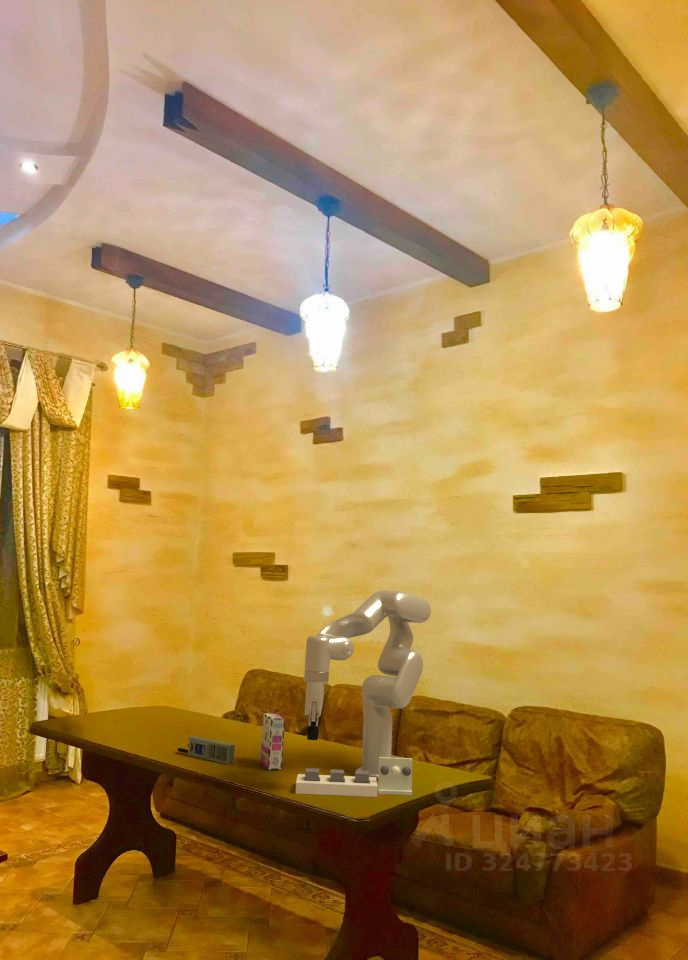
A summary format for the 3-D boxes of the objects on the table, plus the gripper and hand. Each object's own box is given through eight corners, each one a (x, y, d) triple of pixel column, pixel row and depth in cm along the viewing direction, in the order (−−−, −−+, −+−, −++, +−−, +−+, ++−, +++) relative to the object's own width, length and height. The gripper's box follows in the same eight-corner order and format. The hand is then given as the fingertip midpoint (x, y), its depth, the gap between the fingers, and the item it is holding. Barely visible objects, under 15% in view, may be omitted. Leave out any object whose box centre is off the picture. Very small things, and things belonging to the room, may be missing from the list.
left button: (318, 780, 217) (319, 768, 218) (318, 783, 213) (318, 772, 214) (305, 779, 217) (306, 768, 218) (304, 783, 213) (305, 771, 214)
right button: (368, 782, 217) (368, 770, 218) (368, 785, 213) (369, 774, 214) (354, 781, 217) (355, 770, 218) (355, 785, 213) (355, 773, 214)
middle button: (343, 781, 217) (343, 769, 218) (343, 784, 213) (343, 773, 214) (330, 780, 217) (330, 769, 218) (330, 784, 213) (330, 772, 214)
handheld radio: (228, 766, 240) (174, 753, 253) (234, 764, 242) (181, 752, 256) (230, 745, 241) (176, 734, 254) (236, 743, 244) (183, 733, 257)
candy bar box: (282, 770, 236) (285, 718, 239) (268, 770, 235) (271, 718, 237) (274, 762, 247) (276, 712, 249) (259, 762, 245) (262, 712, 247)
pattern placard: (410, 791, 217) (411, 757, 218) (412, 795, 213) (412, 760, 215) (377, 790, 217) (378, 756, 218) (378, 793, 213) (379, 758, 215)
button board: (375, 787, 220) (375, 777, 220) (377, 796, 210) (377, 786, 210) (297, 784, 220) (298, 774, 220) (295, 793, 210) (296, 782, 210)
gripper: (305, 673, 227) (301, 734, 224) (302, 679, 212) (298, 743, 209) (328, 675, 227) (325, 735, 224) (328, 680, 212) (324, 745, 209)
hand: (312, 739), depth 217 cm, fingers closed
